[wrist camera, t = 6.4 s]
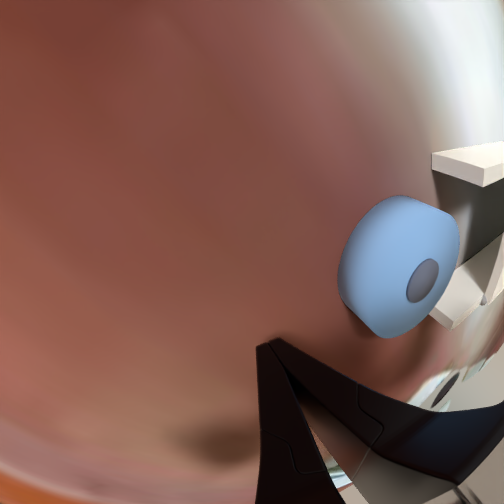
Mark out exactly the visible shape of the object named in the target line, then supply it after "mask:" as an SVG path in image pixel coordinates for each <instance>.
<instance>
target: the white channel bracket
mask: <svg viewBox="0 0 504 504" xmlns="http://www.w3.org/2000/svg"><path fill="white" fill-rule="evenodd" d="M432 170H436V171H439V172H442V173H445V174H448V175H451V176H454V177H457V178H460V179H462V180H465V181H468V182H471V183H473V184H476V185H479V186H481V187H485V186H487V185H489V184H491V183H493V182H496V181H498V180H500V179H502V178H504V141H500V142H493V143H486V144H480V145H474V146H468V147H462V148H456V149H451V150H445V151H440V152H435V153H432ZM503 233H504V232H503ZM503 233H502V234H501V235H499V236H498V237H497V238H496V239H495V240H493V241H492V242H491V243H490V244H488V245H487V246H486V247H485V248H483V249H482V250H481V251H480V252H478V253H477V254H476V255H474V256H473V257H472V258H471V259H469V260H468V261H467V262H465V263H464V264H463V265H461V266H460V267H458V268H457V269H456V270H454V272H453V275H452V277H451V280H450V282H449V284H448V286H447V288H446V290H445V292H444V293H443V295H442V297H441V298H440V300H439V301H438V303H437V304H436V305H435V307H434V308H433V309H432V310H431V312H430V313H429V315H430V316H432V317H433V318H434V319H435V320H437V321H438V322H439V323H440V324H441V325H443V326H444V327H445V328H446V329H447V330H449V331H452V330H453V329H454V328H455V327H456V326H457V325H458V324H460V323H461V322H462V321H463V320H464V319H465V318H466V317H467V316H468V315H470V314H471V313H472V312H473V311H474V310H475V309H476V308H477V307H478V306H479V305H485V304H486V302H487V299H486V297H485V296H484V295H485V292H486V290H487V287H488V284H489V281H490V278H491V275H492V272H493V269H494V266H495V263H496V259H497V256H498V252H499V249H500V245H501V241H502V237H503Z"/></svg>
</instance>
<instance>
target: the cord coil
mask: <svg viewBox="0 0 504 504" xmlns="http://www.w3.org/2000/svg"><path fill="white" fill-rule="evenodd" d="M459 245H460V236H459V230H458V226H457V223H456V221H455V220H454V218H453V217H452V216H451V215H450V214H448V213H446V212H443V211H441V210H439V209H437V208H434V207H432V206H430V205H427V204H425V203H423V202H420V201H418V200H416V199H413V198H411V197H408V196H403V195H400V196H393V197H390V198H387V199H385V200H383V201H381V202H380V203H378V204H377V205H375V206H374V207H373V208H372V209H371V210H370V211H369V212H368V213H366V214H365V216H364V217H363V218H362V219H361V220H360V222H359V223H358V224H357V226H356V227H355V229H354V230H353V232H352V234H351V235H350V237H349V239H348V241H347V243H346V245H345V248H344V250H343V253H342V256H341V260H340V264H339V269H338V290H339V294H340V296H341V299H342V300H343V302H344V303H345V305H347V306H348V307H349V308H350V309H351V310H352V311H353V312H354V313H355V314H356V315H357V316H358V317H359V318H360V319H361V320H362V321H363V322H364V323H365V324H366V325H367V326H368V327H369V328H370V329H371V330H372V331H373V332H374V333H375V334H376V335H377V336H379V337H381V338H394V337H397V336H400V335H402V334H404V333H406V332H408V331H409V330H411V329H412V328H414V327H415V326H416V325H417V324H419V323H420V322H421V321H422V320H423V319H424V318H425V317H426V316H427V315H428V314H429V313H430V312H431V310H432V309H433V308H434V307H435V305H436V304H437V303H438V301H439V300H440V298H441V297H442V295H443V293H444V292H445V290H446V288H447V286H448V284H449V282H450V280H451V277H452V275H453V272H454V269H455V266H456V263H457V259H458V254H459Z"/></svg>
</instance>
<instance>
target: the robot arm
mask: <svg viewBox="0 0 504 504" xmlns="http://www.w3.org/2000/svg"><path fill="white" fill-rule="evenodd" d="M256 364H257V384H258V404H259V424H260V466H259V476H258V484H257V492H256V500H255V504H346V503H345V501H344V500H343V498H342V497H341V495H340V494H339V492H338V490H337V489H336V487H335V485H334V483H333V481H332V479H331V477H330V475H329V473H328V470H327V468H326V465H325V463H324V461H323V459H322V456H321V454H320V452H319V449H318V447H317V445H316V442H315V440H314V438H313V435H312V433H311V431H310V428H309V426H308V424H307V422H308V423H309V425H310V426H311V428H312V429H313V430H314V432H315V433H316V435H317V436H318V437H319V439H320V440H321V442H322V443H323V444H324V446H325V447H326V448H327V450H328V451H329V452H330V454H331V455H332V456H333V458H334V459H335V461H336V462H337V463H338V465H339V466H340V467H341V468H342V470H343V471H344V472H345V474H346V475H347V476H348V478H349V479H350V480H351V481H352V483H353V484H354V485H355V487H356V488H357V489H358V490H359V492H360V493H361V494H362V496H363V497H364V498H365V499H366V501H367V502H368V503H369V504H504V400H503V401H502V402H501V403H499V404H497V405H494V406H490V407H484V408H478V409H470V410H462V411H452V412H434V411H429V410H425V409H422V408H419V407H416V406H413V405H410V404H407V403H404V402H401V401H398V400H395V399H393V398H390V397H388V396H385V395H383V394H380V393H378V392H376V391H374V390H372V389H370V388H368V387H366V386H364V385H362V384H360V383H359V384H358V382H356V381H355V380H353V379H351V378H349V377H347V376H345V375H343V374H342V373H340V372H338V371H336V370H334V369H333V368H331V367H329V366H327V365H325V364H324V363H322V362H320V361H318V360H317V359H315V358H313V357H311V356H310V355H308V354H306V353H305V352H303V351H301V350H299V349H298V348H296V347H294V346H293V345H291V344H289V343H288V342H286V341H284V340H283V339H281V338H275V339H272V340H270V341H268V343H266V342H265V343H263V344H260V345H258V346H256Z"/></svg>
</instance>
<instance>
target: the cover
mask: <svg viewBox="0 0 504 504" xmlns="http://www.w3.org/2000/svg"><path fill="white" fill-rule="evenodd" d="M503 289H504V233H503V237H502V241H501V245H500V249H499V252H498V256H497V259H496V263H495V266H494V269H493V272H492V275H491V278H490V281H489V284H488V287H487V290H486V292H485V295H484V296H485V297H486V299H487V302H486V303H488V304H490V303H491V302H492V301H493V300H494V299H495V298H496V297H497V296H498V295H499V293H500V292H501V291H502V290H503Z"/></svg>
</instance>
